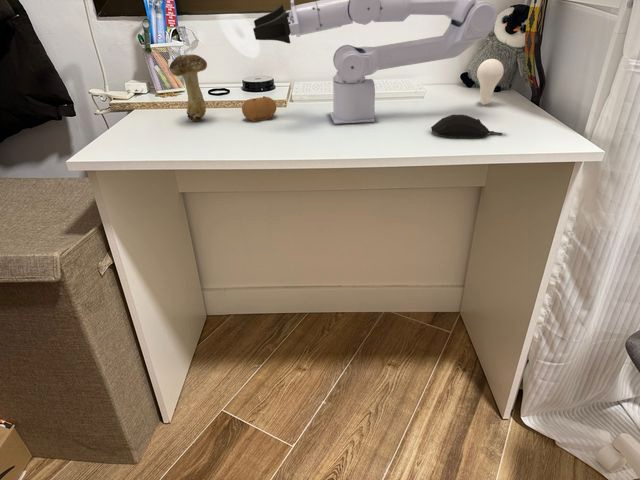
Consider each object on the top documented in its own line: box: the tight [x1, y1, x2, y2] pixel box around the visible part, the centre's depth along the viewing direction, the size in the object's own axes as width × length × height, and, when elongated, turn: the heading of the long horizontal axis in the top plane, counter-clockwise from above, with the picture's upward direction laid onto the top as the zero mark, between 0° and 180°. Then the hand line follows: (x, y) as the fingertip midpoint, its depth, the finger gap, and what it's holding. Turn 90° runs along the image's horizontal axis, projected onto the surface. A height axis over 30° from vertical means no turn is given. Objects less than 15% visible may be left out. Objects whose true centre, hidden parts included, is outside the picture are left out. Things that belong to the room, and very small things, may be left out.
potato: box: [241, 96, 277, 122], centre depth 105 cm, size 8×5×5 cm, turn 117°
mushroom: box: [168, 53, 208, 122], centre depth 102 cm, size 9×9×15 cm
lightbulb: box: [476, 58, 505, 106], centre depth 109 cm, size 6×6×11 cm
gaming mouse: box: [430, 114, 503, 139], centre depth 93 cm, size 6×15×4 cm, turn 83°
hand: (254, 29), depth 92 cm, fingers open, 7 cm apart
